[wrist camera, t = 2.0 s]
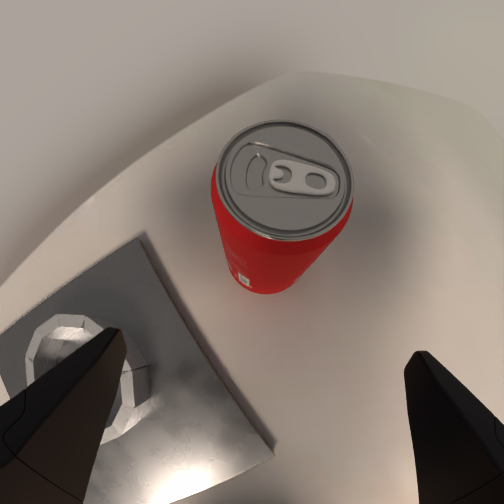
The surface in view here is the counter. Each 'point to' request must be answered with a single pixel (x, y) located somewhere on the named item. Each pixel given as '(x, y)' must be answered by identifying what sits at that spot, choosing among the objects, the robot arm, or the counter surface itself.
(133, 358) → the plate
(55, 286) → the counter surface
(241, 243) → the beverage can
